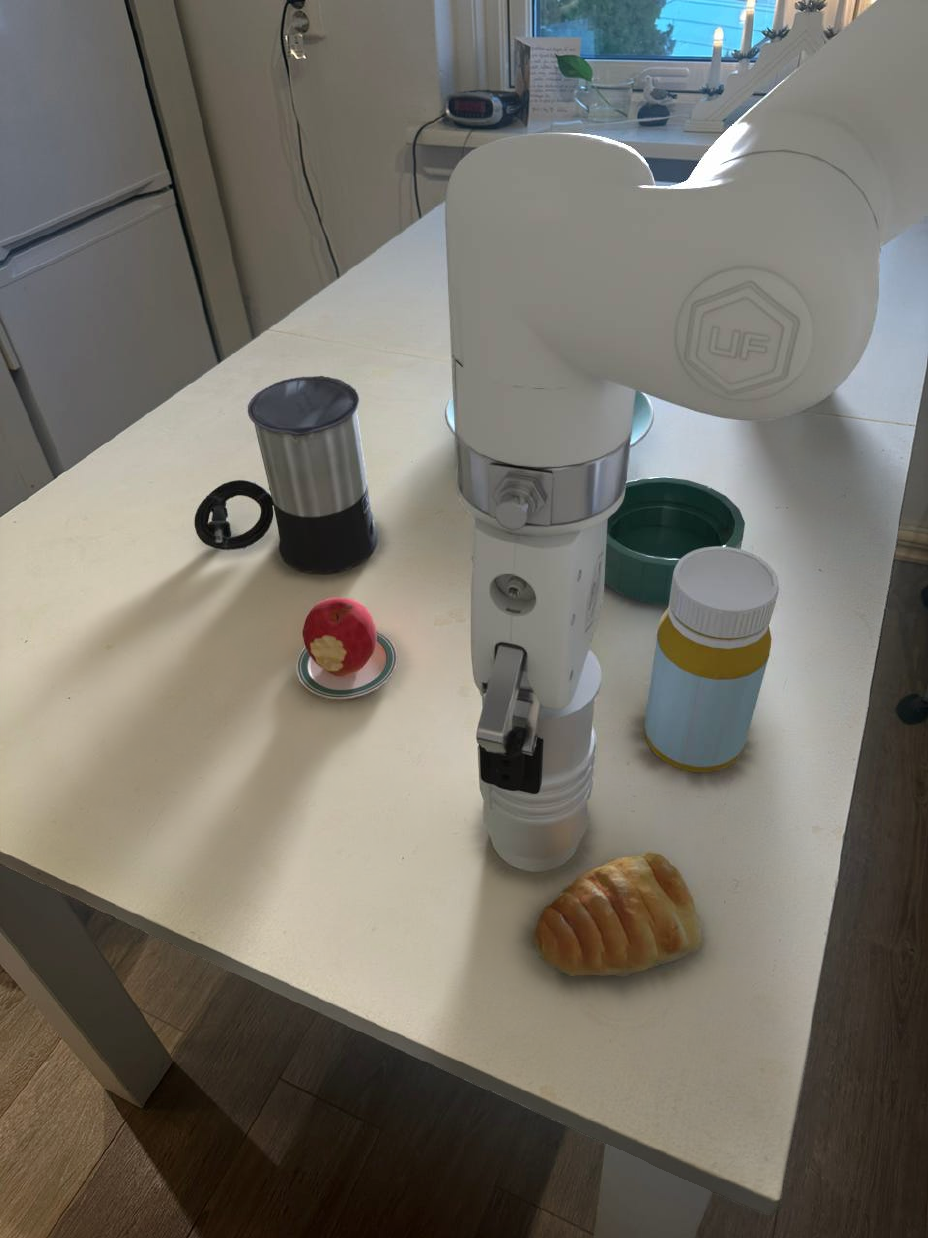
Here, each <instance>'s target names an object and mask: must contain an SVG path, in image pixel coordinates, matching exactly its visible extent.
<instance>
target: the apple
mask: <svg viewBox="0 0 928 1238" xmlns="http://www.w3.org/2000/svg"><path fill="white" fill-rule="evenodd" d="M301 634H302V639H303V644H304V647H303V648H302V650H301V651H300V653H299V654H298V657H297V660H296V663H295V665H296V666H295V669H296V675H297V678H298V681H299V682H300V684H301V685H302V686H303V687H304V688H305V689H306V690H308V691H309V692H311V693H312V694H314V695H316V696H318V697H322V698H324V699H325V698H326V699H331V700H350V699H355V698H359V697H363V696H366V695H368V694H371V693H373V692H375V691H377V689H379V688H381V687H382V686H383V685H384V684H386V683H388V681H389V680H390V679H391V677H392V676H393V675H394V673H395V670H396V668H397V666H398V650H397V648H396V645H395V644H394V642H393V641H392V640H391V639H390V638H389V637H388V636H386V635H385V634H384V633H382V632H380V631H378V630H377V628H376V624H375V622H374V619H373V617H372V614H371V612H370V611H369V609H367V608H366V607H365V606H364V605H363V604H362V603H360V602H359V601H357V600H354V599H352V598H347V597H330V598H326V599H323V600H321V601H319V602H317V603H316V604H314V606H313V607H312V608H311V609H310V610H309V612H308V614H307V615H306V617H305V620H304V623H303V627H302V632H301Z"/></svg>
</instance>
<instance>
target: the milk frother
mask: <svg viewBox="0 0 928 1238" xmlns="http://www.w3.org/2000/svg"><path fill="white" fill-rule="evenodd" d="M359 405H360V396H359V393H358V392H357V390H356V388H354V387H353V386H352V385H351V384H349V383H347V382H345V381H343V380H341V379H338V378H334V377H330V376H324V375H318V376H317V375H315V376H298V377H294V378H293V377H292V378H288V379H284V380H281V381H278V382H274V383H273V384H271V385H268V386H267V387H265V388H263V389H261V390H260V391H258V392H257V393H256V394H255V395H253V397H252V398H251V399H250V401H249V403H248V404H247V414H248V418H249V420H250V421H252V423H253V424H254V428H255V433H256V439H257V441H258V445H259V446H258V447H259V451H260V455H261V458H262V463H263V467H264V471H265V476H266V480H267V484H268V488H269V492H268V491H267V490H266V489H265V488H264V487H263V486H261V485H260V484H257V483H256V482H253V481H251V480H250V481H249V480H245V479H236V480H230V481H227V482H224V483H222V484H221V485H219V486H217V487H216V488H214V489H213V490H212V491H210V492H209V494H207V495H206V496H205V498H204V499H202V502H201V503H200V504H199V505H198V507H197V509H196V512H195V515H194V523H193V524H194V529H195V532H196V535H197V536H198V538H199V540H200V541H201V542H202V543H203V544H205V545H206V546H208V547H210V548H212V549H217V550H223V551H224V550H226V551H228V550H229V551H230V550H240V549H244V548H247V547H250V546H252V545H254V544H255V543H256V542H258V541H259V540H261V539H262V538H263V537H264V536H266V535H265V534H266V533H267V532H268V531H269V529H270V527H271V525H272V523H273V519H274V516H275V520H276V526H277V531H278V536H279V542H278V551H279V554H280V557H281V558H282V560H283V561H284V562H285V563H286V564H287V565H288V566H290V567H291V568H293V569H294V570H296V571H299V572H303V573H307V574H313V575H314V574H315V575H316V574H317V575H327V574H328V575H329V574H335V573H341V572H344V571H347V570H350V569H352V568H355V567H356V566H358V565H360V564H361V563H363V562H365V561H366V560H367V559H369V558H370V557H371V555H372V554H373V553H374V551H375V550H376V548H377V546H378V542H379V533H378V530H377V528H376V525H375V520H374V515H373V512H372V508H371V501H370V491H369V486H368V480H367V473H366V472H367V471H366V464H365V458H364V457H365V456H364V451H363V444H362V436H361V430H360V424H359V416H358V407H359ZM238 496H241V497H247V498H249V499H252V500H254V501H255V502H256V503H257V504H258V506H259V508H260V515H259V518H258V520H257V522H256V523H255V524H254V525H253V526H252V527H251V528H250V529H249V530H247V531H245V532H244V533H241V534H238V535H235V536H232V530H231V524H230V522H229V521H227V518H228V517H229V513H228V509H227V501H228V500H230V499H233V498H235V497H238ZM211 513H212V514H211ZM210 514H211V515H210ZM210 516H211V521H210Z"/></svg>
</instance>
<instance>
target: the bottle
mask: <svg viewBox="0 0 928 1238" xmlns="http://www.w3.org/2000/svg"><path fill="white" fill-rule="evenodd" d="M779 586H780V584H779V578H778V575H777V573H776V571H775V570H774V568H773V567H772V566H771V565H770V564H769V562H767V561H766V560H764V559H763V558H761V557H760V556H758V555H756V554H754V553H752V552H749V551H746V550H744V549H742V548H741V549H737V548H731V547H721V546H715V547H705V548H701V549H697V550H694V551H692V552H690V553H688V554H686V555H685V556H683V557H682V558H681V559H680V560H679V562H678V563H677V565H676V568H675V569H674V572H673V579H672V585H671V592H670V600H669V605H668V607H667V608H666V610H665V611H664V612H663V615H662V616H661V617H660V621H659V624H658V629H657V633H656V638H655V639H656V640H655V645H654V646H655V647H654V653H653V659H652V665H651V666H652V667H651V674H650V681H649V687H648V692H647V693H648V694H647V702H646V708H645V714H644V723H643V725H644V726H643V731H644V737H645V741H646V742H647V744H648V746H649V748H650V750H651V751H652V752H653V753H654V754H656V756H657V757H659V758H660V759H661V760H662V761H663V762H665V763H667V764H669V765H671V766H672V767H674V768H677V769H678V770H681V771H685V772H691V773H713V772H716V771H719V770H723V769H727V767H730V766H731V765H732V764H733V763H735V762H736V761H737V760H739V758H740V756H741V754H742V753H743V750H744V749H745V745H746V742H747V740H748V739H747V738H748V735H749V732H750V728H751V725H752V721H753V717H754V713H755V709H756V707H757V706H756V705H757V702H758V699H759V695H760V691H761V688H762V683H763V681H764V680H763V679H764V676H765V672H766V669H767V665H768V661H769V657H770V654H771V653H770V652H771V647H772V641H773V640H772V639H773V638H772V634H771V629H770V624H771V620H772V616H773V614H774V610H775V606H776V603H777V600H778V594H779V590H780V587H779Z"/></svg>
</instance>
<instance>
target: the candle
mask: <svg viewBox="0 0 928 1238" xmlns="http://www.w3.org/2000/svg"><path fill="white" fill-rule="evenodd" d="M601 670H602V669H601V664H600V663H599V660H598V659H597V657H596V654H595V653H594V652H593V651H592V650H591V649H590V648H589V650H588V654H587V657H586V660H585V664H584V667H583V670H582V673H581V677H580V680H579V683H578V686H577V689H576V692H575V695H574V697H573V699H572V701H571V702H570V703H569V704H568V705H567V706H566V707H565V708H563V709H561V710H556V709H552V708H545V707H543V709H542V715H541V721H540V726H539V732H538V737H540V738H541V739H544V742H543V765H542V784H541V787H540V791H539V793H537V794H531V793H526V792H522V791H509V790H505V789H501V788H498V787H497V786H495V785H492V784H488V783H485V782H484V781H482V779H481V774H480V749H479V745H478V746H477V763H478V784H479V786H478V787H479V791H480V795H481V797H482V800H483V804H482V821H483V824H484V826H485V829H486V832H487V834H488V835H489V837H490V841H491V844H492V847H493V849H494V850H495V852H496V853H497V854H498V856H499V857H500V858H501V859H502V860H503V861H505V863H506V864H508V865H509V866H512V867H514V868H516V869H519V870H522V871H527V872H530V873H537V872H540V873H541V872H548V871H550V870H551V871H552V870H555V869H557V868H559V867H561V866H563V865H565V864H566V863H567V862H568V861H569V860H571V858H572V857H573V856H574V855H575V853H576V851H577V850H578V849H579V846H580V842H581V840H582V838H583V837H584V835H585V833H586V831H587V828H588V825H589V820H590V816H589V800H590V799H591V796H592V795H591V794H592V791H593V786H594V775H595V763H596V752H597V738H596V737H597V736H596V732H595V730H594V728H593V724H594V713H595V701H596V698H597V697H598V695H599V693H600V689H601V685H602V679H603V678H602V671H601ZM520 685H521V686H526V687H531V686H530V684H529V682H528V680H527V672H525V671H524V672H523V676H522V680H521V684H520ZM478 691H479V690H478ZM485 694H486V693H485ZM485 694H482V693H481V692H480V691H479V695H480V697H481V700H482V701H481V702H482V703H481V704H482V707H483V705H484V700H485ZM528 709H529V702H524V701H519V700H516V704H515V708H514V712H513V717H512V725H514V726H519V727H523V728H525V726H526V720H527V715H528Z"/></svg>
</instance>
